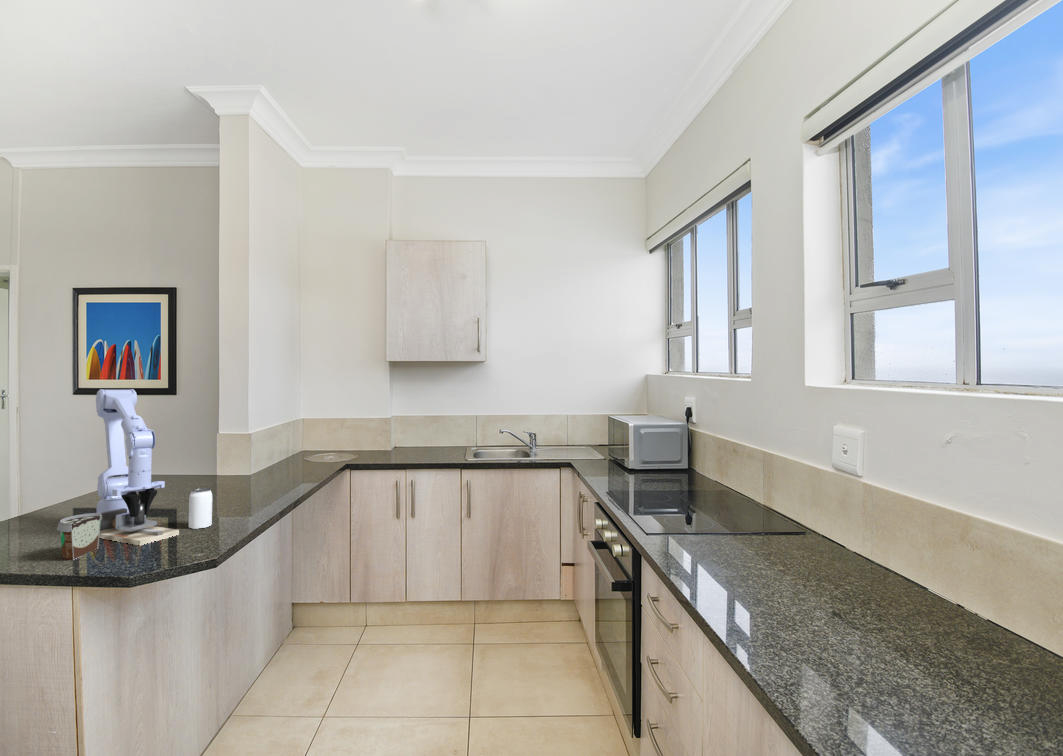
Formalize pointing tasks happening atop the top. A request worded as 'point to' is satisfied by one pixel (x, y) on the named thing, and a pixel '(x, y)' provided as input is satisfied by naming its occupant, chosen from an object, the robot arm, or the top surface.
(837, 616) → the top surface
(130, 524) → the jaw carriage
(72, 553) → the food container
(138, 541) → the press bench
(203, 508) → the can
